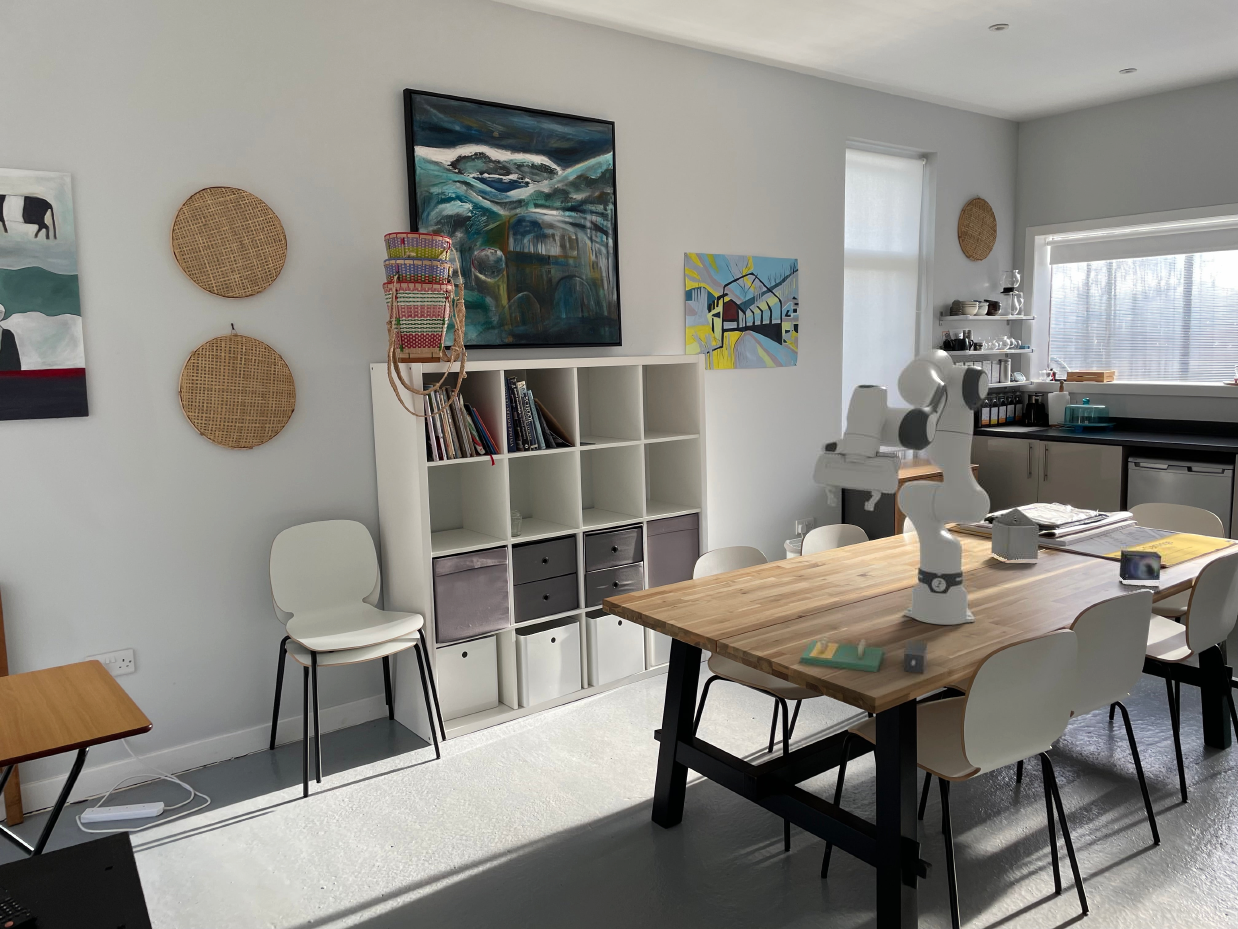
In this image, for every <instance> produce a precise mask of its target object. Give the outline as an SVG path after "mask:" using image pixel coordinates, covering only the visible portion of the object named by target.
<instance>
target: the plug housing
mask: <svg viewBox="0 0 1238 929" xmlns="http://www.w3.org/2000/svg"><path fill="white" fill-rule="evenodd" d="M927 645H928V643H927V642H918V641H909V640H908V641H907V643H906V647H905V650H904V654H903V671H904V672H909V673H919V674H924V671H925V667H926V663H927V648H928V646H927Z"/></svg>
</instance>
